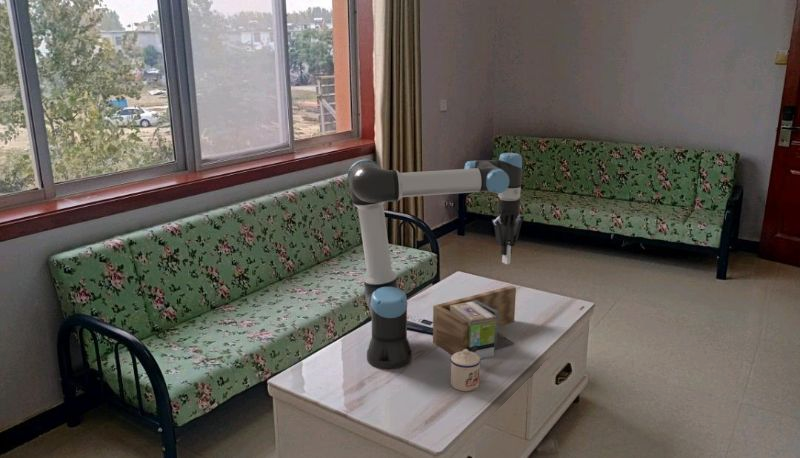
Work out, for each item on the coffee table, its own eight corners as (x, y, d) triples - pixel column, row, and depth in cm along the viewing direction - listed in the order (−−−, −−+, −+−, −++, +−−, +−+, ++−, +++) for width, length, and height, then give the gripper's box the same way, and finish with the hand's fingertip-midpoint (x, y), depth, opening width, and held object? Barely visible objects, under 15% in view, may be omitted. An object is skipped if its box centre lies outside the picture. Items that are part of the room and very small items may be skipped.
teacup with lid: (468, 395, 189) (469, 360, 186) (444, 385, 195) (444, 351, 191) (490, 379, 198) (491, 346, 195) (466, 370, 204) (467, 337, 200)
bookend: (493, 350, 217) (494, 312, 213) (471, 337, 227) (472, 300, 223) (513, 343, 222) (515, 306, 218) (491, 331, 231) (492, 295, 227)
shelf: (462, 362, 209) (463, 323, 205) (432, 342, 223) (433, 305, 219) (542, 336, 227) (544, 300, 223) (510, 319, 241) (512, 285, 237)
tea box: (495, 356, 213) (496, 315, 209) (468, 362, 209) (470, 320, 205) (472, 338, 226) (474, 299, 222) (447, 343, 222) (448, 304, 218)
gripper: (501, 202, 211) (498, 269, 218) (530, 198, 218) (527, 262, 225) (487, 198, 218) (485, 263, 224) (516, 193, 224) (512, 257, 231)
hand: (506, 263), depth 224 cm, fingers closed
